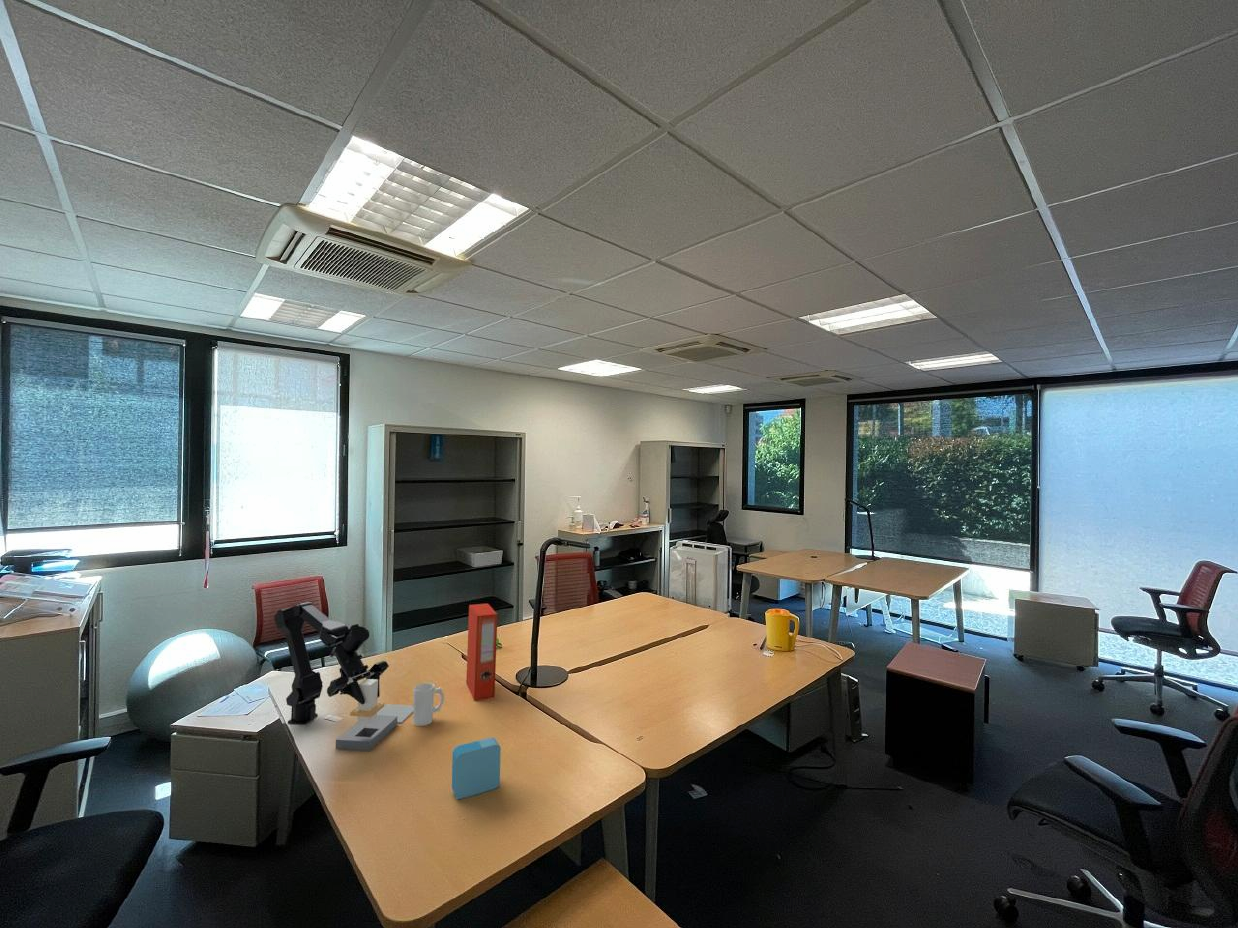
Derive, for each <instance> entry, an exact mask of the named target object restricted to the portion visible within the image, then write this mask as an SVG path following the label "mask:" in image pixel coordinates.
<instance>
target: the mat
mask: <svg viewBox="0 0 1238 928" xmlns="http://www.w3.org/2000/svg"><path fill="white" fill-rule="evenodd" d="M377 715H383V716H397V724H403V723H404V722H405V721H406V720H407V719H408V718H409V717H410V716H411V715H413V705H411V704H392V703H391V704H389V703H387V704H385V705H384V707H383V708H382V709H381V710H379V711H378V712H377Z"/></svg>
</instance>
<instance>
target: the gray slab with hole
mask: <svg viewBox="0 0 1238 928" xmlns="http://www.w3.org/2000/svg"><path fill="white" fill-rule="evenodd" d="M396 726H398V723H397V716H383V715H377V717H376V718H375V719H374V720H373V721H372V722H370V723H357V722H356V723H354V724H353V725H352V726H350V728H349V729H347V730H346V731H345V732H344V733H342V734H341V735H339V737H337V738H336V739H335V749H336V750H348V751H361V752H362V751H364V752H365V751H366V752H370V751H372V749H373V748H375V747H376V746H377V744H379V743H380V742H381V741H382V740H383V739H384V738H385V737H386V736H387V735H388V734H389V733H390V732H392V730H393V729H395V728H396Z"/></svg>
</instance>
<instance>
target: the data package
mask: <svg viewBox="0 0 1238 928" xmlns="http://www.w3.org/2000/svg"><path fill="white" fill-rule="evenodd" d="M501 750H502V749H501V745H500V744H499V742H498V741H497V739H496V738H495V737H488V738H483V739H481V740H475V741H471V742H467V743H464V744H460V745H457V746H455V747H454V748H453V751H452V763H451V764H452V765H451V769H452V770H451V788H452V792H453V794H454V797H455V799H458V800H462V799H465V798H469V797H473V796H476V795H478V794H482V793H485V792H488V791H492V790H494V789H496V788H498V786H499V785H500V783H501V781H500V780H501Z"/></svg>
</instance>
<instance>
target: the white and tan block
mask: <svg viewBox="0 0 1238 928" xmlns="http://www.w3.org/2000/svg"><path fill="white" fill-rule="evenodd" d="M358 684H359V687H360V689H361V692H362V694H363V697H364V700H365V703H364V704H363V705H362V704H361V703H359V702H358V701H357V706H356V707H355V708H354V709H353V710H352V711H350V713H349V716H351V717H357V719H356V721H357V722H356V723H370V722H372V721H373V720H374V719H375V718H376V717H377V712H378V711H380V710H381V709H382V708H383V707H384V706H385V703H383V702H378V698H379V697H378V680H376V679H366V678H365V679H363V680H362V681H361V682H360V683H358ZM377 697H378V698H377Z"/></svg>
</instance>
